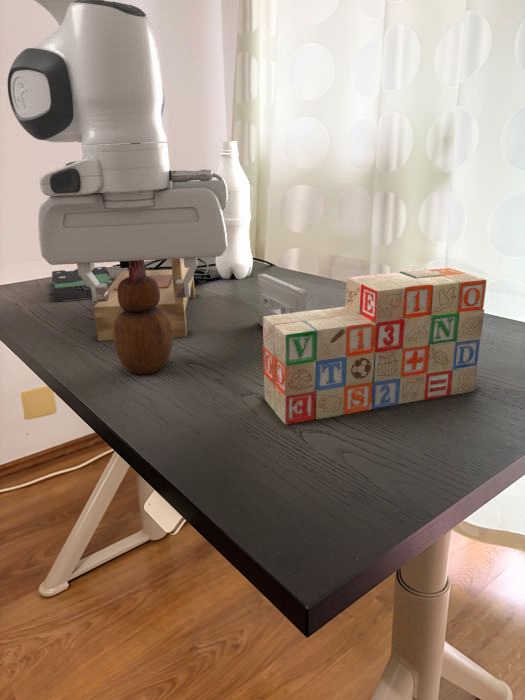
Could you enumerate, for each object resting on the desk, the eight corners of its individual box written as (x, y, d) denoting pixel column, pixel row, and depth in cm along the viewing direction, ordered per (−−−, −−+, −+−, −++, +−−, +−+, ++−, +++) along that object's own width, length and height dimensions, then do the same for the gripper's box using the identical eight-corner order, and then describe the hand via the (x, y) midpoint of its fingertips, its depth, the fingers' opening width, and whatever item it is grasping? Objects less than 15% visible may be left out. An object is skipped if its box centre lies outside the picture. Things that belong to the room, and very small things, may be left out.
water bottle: (260, 276, 115) (256, 140, 106) (234, 283, 110) (227, 141, 101) (235, 271, 119) (229, 141, 110) (208, 277, 114) (200, 142, 106)
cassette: (309, 348, 75) (309, 290, 73) (296, 350, 75) (296, 292, 72) (267, 324, 85) (266, 272, 83) (256, 325, 85) (254, 273, 82)
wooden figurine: (147, 356, 74) (134, 237, 69) (183, 364, 71) (173, 240, 66) (108, 375, 69) (91, 247, 63) (145, 384, 66) (131, 251, 61)
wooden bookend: (98, 342, 80) (86, 254, 76) (125, 299, 101) (117, 229, 96) (186, 338, 80) (179, 251, 76) (195, 297, 101) (190, 226, 97)
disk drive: (52, 285, 113) (54, 303, 99) (50, 271, 112) (51, 287, 98) (107, 279, 116) (116, 296, 103) (106, 265, 115) (114, 280, 102)
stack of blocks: (285, 427, 55) (283, 301, 51) (263, 401, 61) (260, 285, 56) (476, 392, 61) (488, 277, 57) (440, 371, 67) (449, 265, 63)
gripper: (225, 167, 66) (232, 287, 70) (41, 175, 65) (61, 296, 70) (225, 170, 60) (233, 300, 65) (22, 179, 59) (45, 310, 64)
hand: (142, 298), depth 67 cm, fingers open, 8 cm apart
